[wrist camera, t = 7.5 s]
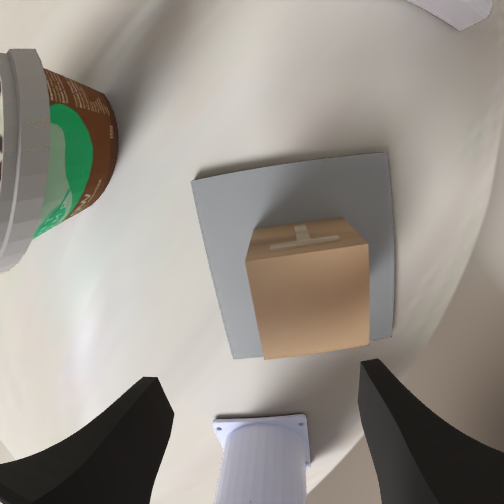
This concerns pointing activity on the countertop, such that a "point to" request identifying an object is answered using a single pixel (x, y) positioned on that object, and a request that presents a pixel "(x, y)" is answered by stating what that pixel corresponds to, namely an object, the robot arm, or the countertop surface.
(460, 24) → the charger
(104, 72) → the countertop surface
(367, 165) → the slate board
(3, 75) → the food container
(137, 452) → the robot arm
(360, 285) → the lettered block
